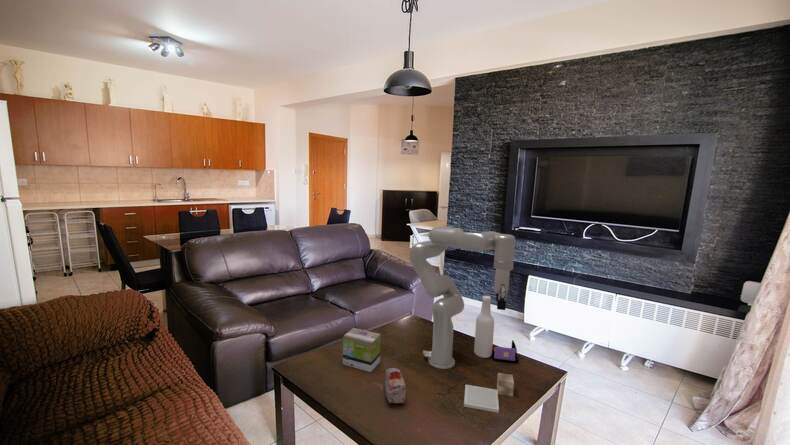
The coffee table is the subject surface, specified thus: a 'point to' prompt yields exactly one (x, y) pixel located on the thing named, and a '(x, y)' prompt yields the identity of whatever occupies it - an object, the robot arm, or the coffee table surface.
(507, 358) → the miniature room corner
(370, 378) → the coffee table surface
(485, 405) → the plate
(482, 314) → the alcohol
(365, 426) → the coffee table surface
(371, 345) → the tea box
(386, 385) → the food item
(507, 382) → the maple cube
